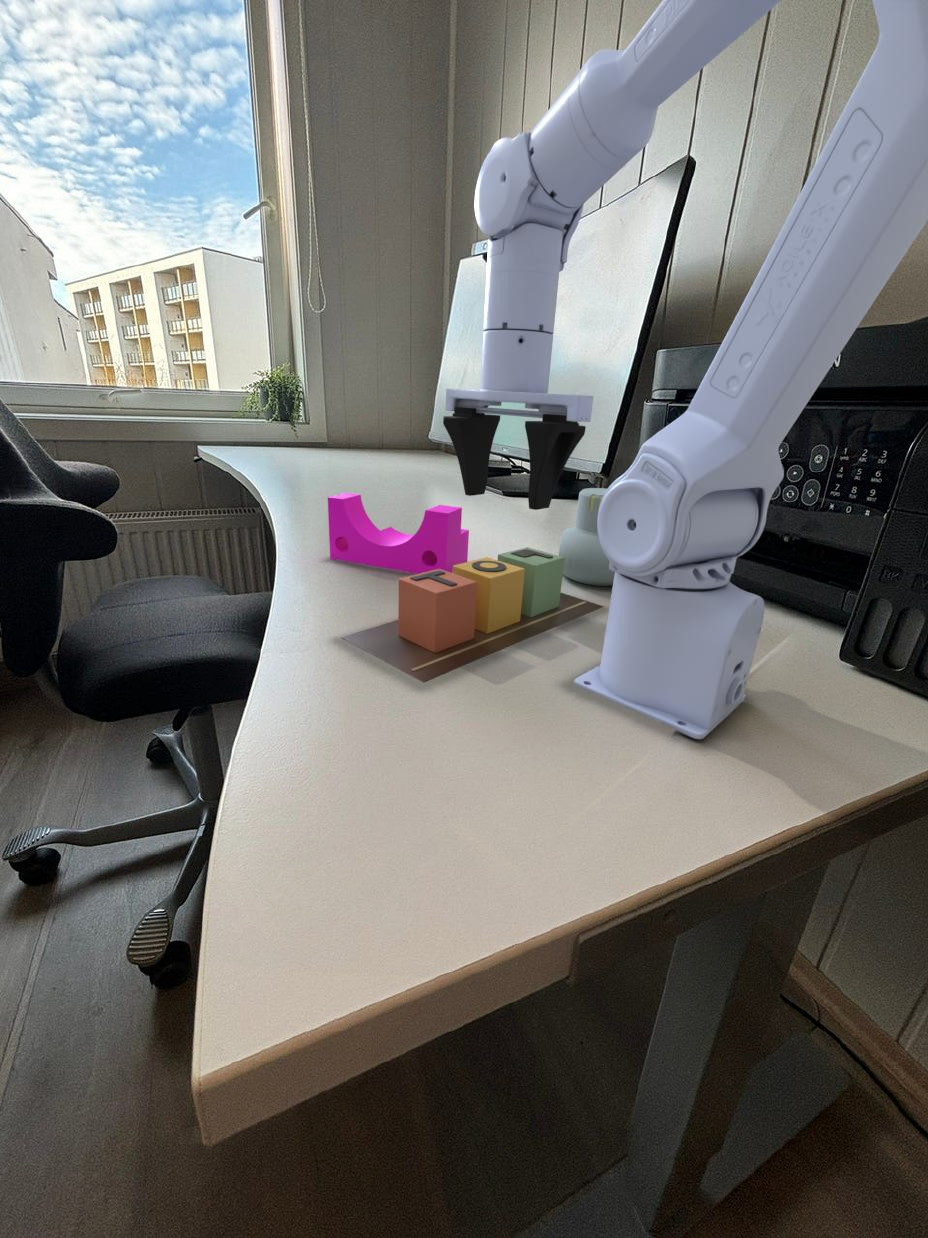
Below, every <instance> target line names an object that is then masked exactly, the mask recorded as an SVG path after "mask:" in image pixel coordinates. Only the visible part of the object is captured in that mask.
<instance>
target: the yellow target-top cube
mask: <svg viewBox="0 0 928 1238" xmlns="http://www.w3.org/2000/svg"><path fill="white" fill-rule="evenodd" d="M452 573H453V574H456V575H459V576H462V577H465V578H468V579H470V580H473V581H476V582H477V598H476V614H475V629H477V630H479V631H481V632H484V633H486V634H488V633H491V632H493V631H496V630H499V629H501V628H504V627H506V626H509V625H512V624H514V623H517V622H519V621H520V616H521V605H522V595H523V584H524V573H525V569H524V568H521V567H518V566H514V565H511V564H508V563H504V562H501V561H498V559H495V558H491V557H488V556H487V557H483V558H479V559H475V560H474V559H473V560H469V561H467V562H466V563H462V564H457V565H453V570H452Z"/></svg>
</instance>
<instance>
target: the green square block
mask: <svg viewBox="0 0 928 1238" xmlns="http://www.w3.org/2000/svg"><path fill="white" fill-rule="evenodd" d="M497 560H498V561H501V562H504V563H508V564H511V565H514V566H518V567H521V568H524V569H525V573H524V584H523V595H522V605H521V614H523V615H525V616H528V617H533V616H536V615H538V614H541V613H544V612H546V611H549V610H551V609H554V608H557V607H559V602H560V593H562V586H563V585H562V584H563V576H564V575H563V568H564V560H565V557H561V556H559V554H554V553H550V552H546V551H543V550H539V549H535V548H531V547H528V546H527V547H524V548H519V549H515V550H511V551H507V552H503V553H499V554H497Z"/></svg>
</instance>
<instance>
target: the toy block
mask: <svg viewBox="0 0 928 1238" xmlns="http://www.w3.org/2000/svg"><path fill="white" fill-rule="evenodd" d="M327 514H328V515H327V516H328V519H327V520H328V540H329V541H328V543H329V559H330V560H333V561H337V560H338V561H342V562H343V561H345V562H349V563H356V564H361V565H366V566H373V567H378V568H384V569H389V570H395V571H400V572H407V573H412V574H420V573H424V572H428V571H432V570H436V569H441V570H444V571H447V572H450V573H452V570H453V565H457V564H462V563H466V562H468V556H469V555H468V554H469V552H468V551H469V539H470V538H469V537H470V536H469V535H470V530H469V529H466V528H465V529H464V528H462V515H463V507H459V506H453V505H444V504H439V505H435V506H433V507H431V508H428V509H425V510H424V514H423V519H422V522H421V524H420V526H419V528H418V529H417V531H416V532H415V533H414V534H409V533H404V532H401V531H399V530H397V529H395V528H394V527H392V526H388V527H386V528H382V529H381V530H380V529H379V528H378V527H377V526H376V525H375V524H374V523H373V522H372V520H371V519H370V517H369V515H368V514H367V511H366V509H365V507H364V504H363V500H362V494H359V493H352V492H344V493H340V494H339V493H338V494H335V495H332V496H328V497H327Z"/></svg>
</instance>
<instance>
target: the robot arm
mask: <svg viewBox="0 0 928 1238" xmlns="http://www.w3.org/2000/svg"><path fill="white" fill-rule="evenodd" d="M871 1H872V5H873V6H872V7H873V10H874V14H875V17H876V22H877V25H878V30H879V31H878V32H879V35H878V36H879V37H878V41H877V44H876V47H875V49H874V51H873V53H872V55H871V57H870V58H869V60H868V62H867V64H866V66H865V68H864V70H863V71H862V74H861V76H860V77H859V80H858V82H857V83H856V86H855V87H854V89H853V91H852V93H851V95H850V97H849V99H848V100H847V102H846V105H845V106H844V108H843V110H842V112H841V114H840V116H839V118H838V120H837V121H836V123H835V126H834V128H833V130H832V131H831V133H830V134H829V138H828V139H827V141H826V143H825V145H824V147H823V148H822V151H821V152H820V155H819V156H818V158H817V160H816V161H815V163H814V166H813V168H812V169H811V171H810V174H809V176H808V177H807V179H806V181H805V183H804V185H803V187H802V189H801V190H800V193H799V194H798V196H797V198H796V200H795V202H794V204H793V206H792V208H791V210H790V211H789V214H788V215H787V218H786V219H785V221H784V223H783V225H782V227H781V229H780V231H779V232H778V234H777V237H776V239H775V240H774V242H773V244H772V247H771V248H770V250H769V252H768V254H767V256H766V257H765V260H764V261H763V264H762V265H761V267H760V270H759V272H758V273H757V275H756V277H755V279H754V281H753V282H752V285H751V287H750V289H749V291H748V292H747V295H746V296H745V298H744V300H743V302H742V304H741V306H740V308H739V310H738V311H737V313H736V315H735V316H734V319H733V321H732V323H731V324H730V327H729V328H728V331H727V333H726V335H725V336H724V339H723V340H722V342H721V344H720V346H719V348H718V350H717V352H716V353H715V356H714V357H713V359H712V362H711V363H710V365H709V367H708V369H707V371H706V373H705V375H704V376H703V379H702V380H701V382H700V384H699V387H698V388H697V390H696V392H695V394H694V396H693V398H692V399H691V401H690V404H689V405H688V407H687V409H686V411H684V412H683V413H682V414H681V415H680V416H679V417H677V418H676V419H674V420H673V421H672V422H671V423H669V424H668V425H666V426H664V427H663V428H662V429H660V430H659V431H657V432H656V433H655V434H654V435H653V436H651V437H649V439H647V440H646V441H644V443H643V444H642V445H641V447H640V449H639V450H638V453H637V454H636V456H635V459H634V460H633V462H632V463H631V465H630V466H629V468H628V469H626V470H625V472H624V473H623V474H621V475H620V476H619V477H617V478H616V479H615V480H614V481H613V482H611V484H610V485H609V486H608V487H607V488H606V489H607V491H606V492H605V494H604V496H603V498H602V500H601V503H600V506H599V511H598V517H597V530H598V536H599V541H600V544H601V547H602V549H603V551H604V553H605V555H606V557H607V558H608V560H609V561H610V564H609V569H610V570H611V571H614V572H615V575H614V582H613V586H612V588H611V595H610V601H609V606H608V607H609V609H608V615H607V622H606V626H605V627H606V628H605V633H604V641H603V646H602V647H603V648H602V653H601V659H600V664H599V665H597V666H596V667H594V668H592V669H590V670H588V671H587V672H585V673H583V674H581V675H579V676H577V677H576V678H574V681H573V684H574V685H575V686H577V687H579V688H581V689H584V690H586V691H587V692H590V693H593V694H595V695H597V696H600V697H602V698H605V699H607V700H608V701H611V702H614V703H616V704H618V705H620V706H623V707H625V708H627V709H629V710H632V711H634V712H637V713H638V714H641V715H643V716H645V717H647V718H650V719H652V720H655V721H657V722H659V723H662V724H664V725H666V726H668V727H671V728H673V729H676V730H675V731H676V732H678V733H681V734H682V735H685V736H687V737H690V738H691V739H695V740H702V739H705V738H706V737H707V736H708V735H709V734H710V733H711V732H712V731H713V730H714V729H715V728H716V727H717V726H718V725H719V724H721V723H722V722H723V721H724V720H725V719H727V717H728V716H729V715H730V714H731V713H732V712H733V711H734V710H736V709H737V708H738V707H739V706H740V705H741V704H742V703H743V702H744V701H745V700H746V693H745V690H746V686H747V683H748V679H749V676H750V671H751V667H752V663H753V660H754V656H755V653H756V649H757V646H758V642H759V639H760V638H759V637H760V634H761V630H762V626H763V621H764V615H765V601H764V598H763V597H761V596H760V595H758V594H755V593H752V592H749V591H746V590H744V589H742V588H739V587H738V586H736V585H735V584H733V583H732V582H731V578H732V577H731V576H732V574H734V572H735V567H736V563H737V560H738V558H739V557H742V556H743V555H744V554H746V553H747V552H748V551H750V550H751V549H752V548H753V547H754V546H755V545H756V544H757V542H759V541H758V540H759V539H760V538H761V536H762V534H763V532H764V529H765V526H766V523H767V522H766V521H767V514H768V509H769V504H770V501H771V499H772V497H773V495H774V493H775V491H776V490H777V488H778V487H779V485H780V484H781V482H782V481H783V479H784V476H785V471H784V468H783V464H782V461H781V456H780V452H779V447H780V446H781V444H782V443H783V441H784V439H785V437H786V436H787V434H788V433H789V432H790V430H791V429H792V427H793V425H794V424H795V422H796V421H797V420H798V418H799V417H800V415H801V414H802V412H803V410H804V409H805V408H806V406H807V404H808V402H809V401H810V400H811V398H812V397H813V396H814V393H815V392H816V391H817V390H818V387H819V386H820V385H821V383H822V382H823V380H824V379H825V378H826V376H827V374H828V373H829V371H830V369H831V368H832V366H833V365H834V363H835V362H836V360H837V358H839V356H840V354H841V352H842V351H843V350H844V348H845V346H846V345H847V343H848V342H849V340H850V339H851V338H852V336H853V334H854V333H855V331H856V330H857V328H858V326H859V325H860V324H861V322H862V321H863V319H864V318H865V316H866V314H867V313H868V311H870V309H871V307H872V305H873V304H874V302H875V301H876V299H877V298H878V297H879V295H880V293H881V291H882V290H883V288H884V287H885V286H886V284H887V282H888V281H889V280H890V278H891V276H892V275H893V274H894V272H895V270H896V269H897V267H898V266H899V264H900V262H901V261H902V260H903V258H904V257H905V255H906V254H907V252H908V251H909V249H910V248H911V246H912V244H913V243H914V241H915V240H916V238H917V237H918V236H919V234H920V232H921V231H922V229H923V228H924V226H925V224H927V221H928V0H871ZM780 2H782V0H662V1H661V2H660V4H659V5H658V6H657V7H656V8H655V10H654V11H653V13H652V14H651V15H650V17H649V18H648V19H647V21H646V22H645V23H644V24H643V26H642V28H640V30H639V31H638V33H637V34H636V35H635V36H634V38H633V39H632V41H631V42H630V43H629V45H628V46H627V47H626V48H625V49H614V48H603V49H600V50H598V51H596V52H595V53H594V54H593V55H591V56H590V57H589V59H587V61H586V62H585V63H584V65H583V66H582V67H581V68H580V70H579V72H578V73H577V74H576V75H575V77H574V78H573V79H572V80H571V82H570V83H569V84H568V86H567V87H565V89H564V90H563V91H562V92H561V94H560V95H559V96H558V97H557V98H556V100H554V103H552V105H551V106H550V108H548V110H546V112H545V113H544V115H542V117H541V118H540V120H539V121H538V122H537V123H536V125H534V127H533V128H532V129H531V131H530V132H523V131H519V133H518V134H517V135H516V136H515V137H509V136H506V137H502V138H499V139H498V140H497V141H495V142H494V143H493V145H492V147H491V149H490V151H489V152H488V153H487V155H486V157H485V158H484V160H483V162H482V165H481V168H480V170H479V173H478V177H477V181H476V186H475V191H474V192H475V193H474V213H475V219H476V223H477V226H478V228H479V230H480V231H481V232H482V233H483V234H484V235H486V236H488V239H487V258H486V259H487V260H486V261H487V262H486V275H485V291H484V292H485V293H484V295H485V296H484V309H483V310H484V311H483V312H484V313H483V327H482V328H483V330H482V331H483V333H482V347H481V348H482V350H481V369H480V386H479V389H464V388H445V407H444V408H445V412H447V411H448V412H453V413H452V415H443V416H442V417H443V418H442V421H443V423H442V424H443V427H444V428H445V430H446V432H447V433H448V436H449V438H450V440H451V443H452V446H453V448H454V451H455V454H456V457H457V461H458V465H459V470H460V475H461V479H462V483H463V490H464V494H465V496H468V497H472V496H478V495H479V496H480V495H485V493H486V489H487V484H488V477H489V466H490V456H491V453H492V452H491V451H492V446H493V444H494V439H495V436H496V432H497V429H498V427H499V423H500V421H501V416H511V417H522V418H523V417H524V418H535V419H541V420H525V422H524V428H525V433H526V439H527V445H528V455H529V477H528V479H529V480H528V492H527V493H528V494H527V500H528V509H529V510H534V511H537V510H544V509H549V508H550V505H551V502H552V499H553V496H554V493H555V490H556V489H557V485H558V482H559V480H560V477H561V475H562V473H563V471H564V469H565V467H566V464H567V463H568V461H569V459H570V457H571V456H572V455H573V452H574V450H575V449H576V447H577V446H578V445H579V443H580V442H581V440H582V439H583V437H584V436H585V433H586V428H587V427H586V426H585V425H580V423H581V422H584V423H590V422H591V421H592V420H591V419H592V411H593V403H594V395H585V394H584V395H583V394H565V393H564V394H563V393H548V392H549V383H550V373H551V362H552V354H553V353H552V351H553V342H554V331H555V321H556V311H557V299H558V292H559V291H558V290H559V279H560V272H563V270H564V268H565V264H566V263H567V262H568V253H569V247H570V242H571V240H572V237H573V235H574V233H575V232H576V230H577V227H578V226H579V223H580V220H581V217H582V214H583V210H584V204H585V203H586V202H587V201H588V200H589V199H590V198H591V197H593V196H594V195H595V194H596V193H597V192H598V191H599V190H600V189H601V188H602V187H604V185H605V184H607V183H608V182H609V181H610V180H611V179H612V178H613V177H614V176H615V175H616V174H618V173H619V172H620V170H622V169H623V168H624V167H625V166H626V165H627V164H628V163H629V162H630V161H631V160H632V159H634V157H636V156H637V155H638V154H639V153H640V152H641V151H642V150H643V149H644V148H645V147H646V146H647V145H648V144H649V142H650V140H651V138H652V136H653V132H654V128H655V125H656V119H657V115H658V110H659V106H660V105H662V104H663V103H664V102H665V101H666V100H668V99H669V98H670V97H671V96H672V95H673V94H675V93H676V92H677V91H678V90H679V89H680V88H682V87H683V86H684V85H685V84H686V83H687V82H688V81H690V80H691V79H692V78H693V77H695V75H697V74H698V73H699V72H700V71H702V70H703V69H704V68H705V67H706V66H707V65H709V64H710V63H711V62H712V61H714V59H715V58H717V56H719V55H720V54H721V53H722V52H724V50H726V49H727V48H729V46H730V45H731V44H733V43H734V42H735V41H736V40H738V39H739V38H740V37H741V36H742V35H744V33H745V32H746V31H748V30H749V29H750V28H752V26H754V25H755V24H756V23H758V21H760V20H761V19H762V18H763V17H764V16H765V15H766V14H768V13H769V12H770V11H771V10H772V9H773V8H774V7H776V6H777V5H778V4H779V3H780ZM502 403H513V404H524V408H525V409H526V410H524V409H512V408H500V407H501V406H502ZM490 406H491V407H490ZM527 409H529V410H527ZM537 410H538V411H537Z"/></svg>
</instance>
